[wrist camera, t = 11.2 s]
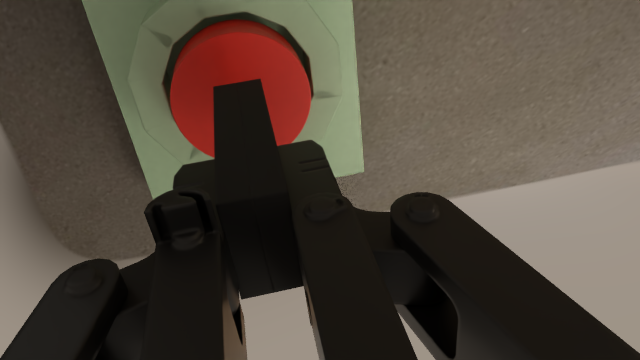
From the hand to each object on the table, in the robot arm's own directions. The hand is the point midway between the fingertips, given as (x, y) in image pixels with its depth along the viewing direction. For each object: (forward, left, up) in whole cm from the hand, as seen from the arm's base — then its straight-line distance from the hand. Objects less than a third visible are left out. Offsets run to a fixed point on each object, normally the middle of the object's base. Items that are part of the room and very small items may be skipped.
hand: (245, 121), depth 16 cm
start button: (0, 0, -4) cm, 4 cm away
